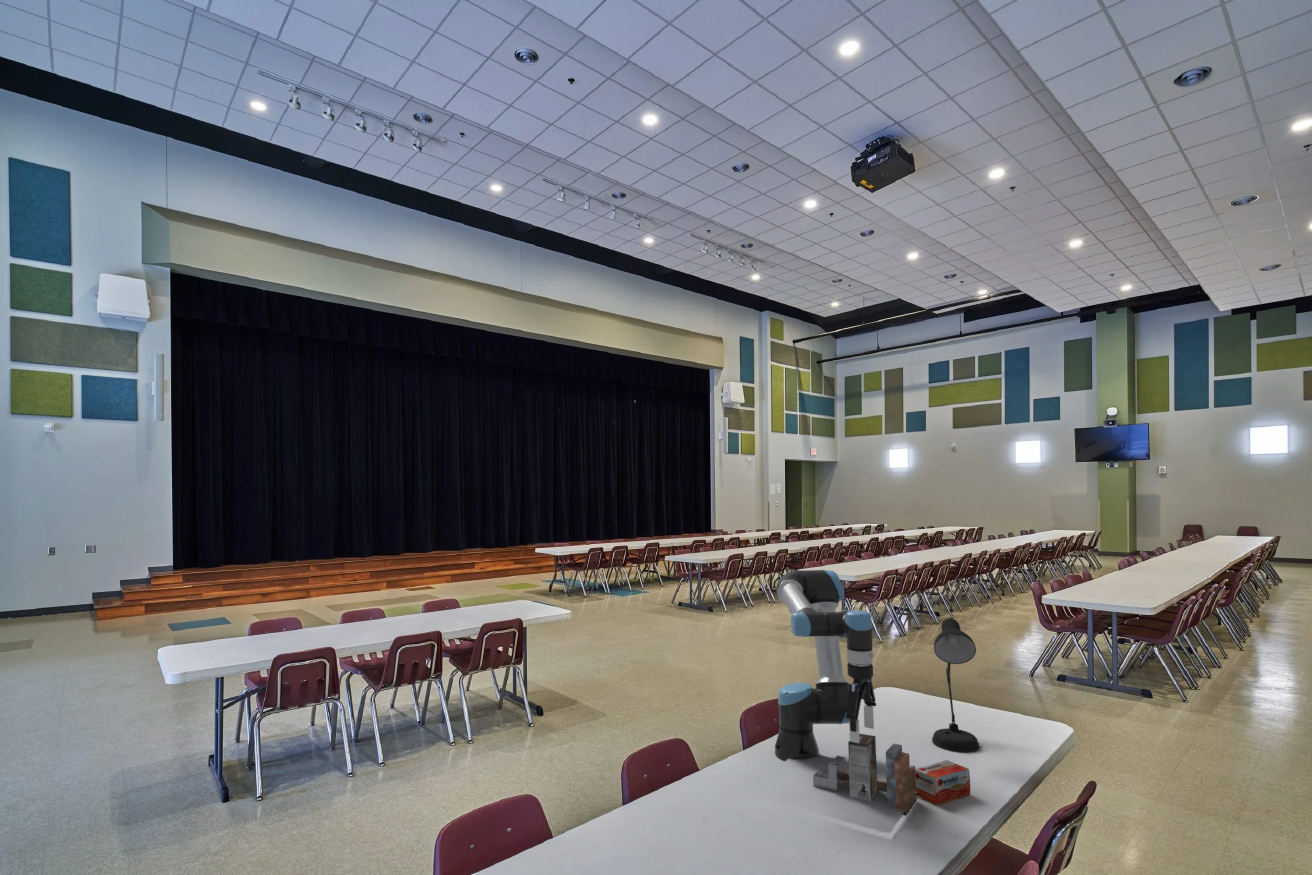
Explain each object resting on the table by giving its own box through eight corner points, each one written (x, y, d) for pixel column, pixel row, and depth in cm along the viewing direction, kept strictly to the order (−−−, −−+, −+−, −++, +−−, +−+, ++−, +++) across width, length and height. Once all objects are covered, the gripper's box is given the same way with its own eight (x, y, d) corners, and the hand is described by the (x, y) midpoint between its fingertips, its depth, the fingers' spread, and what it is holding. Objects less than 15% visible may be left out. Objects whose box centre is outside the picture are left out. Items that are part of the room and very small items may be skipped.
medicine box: (948, 785, 207) (947, 758, 208) (971, 795, 200) (970, 767, 201) (914, 795, 200) (913, 768, 201) (936, 806, 193) (935, 778, 194)
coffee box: (856, 785, 205) (854, 731, 206) (878, 790, 202) (876, 735, 203) (849, 797, 197) (847, 741, 198) (871, 802, 194) (869, 745, 195)
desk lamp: (960, 763, 223) (954, 627, 227) (902, 738, 247) (897, 615, 251) (1010, 751, 234) (1003, 621, 237) (950, 728, 257) (944, 610, 261)
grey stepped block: (813, 785, 205) (812, 760, 205) (822, 776, 211) (822, 751, 212) (837, 791, 200) (836, 765, 201) (846, 782, 207) (845, 757, 207)
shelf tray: (809, 790, 204) (807, 736, 206) (822, 777, 213) (820, 726, 215) (906, 815, 188) (904, 757, 189) (916, 800, 197) (914, 745, 198)
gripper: (859, 674, 190) (861, 750, 189) (884, 655, 211) (886, 724, 209) (833, 670, 195) (835, 745, 193) (860, 652, 215) (862, 719, 214)
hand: (862, 734), depth 201 cm, fingers open, 13 cm apart
